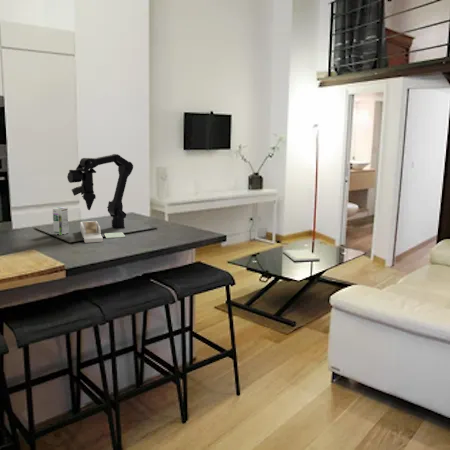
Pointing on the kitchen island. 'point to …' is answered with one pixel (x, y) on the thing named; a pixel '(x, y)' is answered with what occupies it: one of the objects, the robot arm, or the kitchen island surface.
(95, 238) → the trap channel
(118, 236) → the sage pad
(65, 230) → the syrup box
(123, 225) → the robot arm
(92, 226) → the maple block
